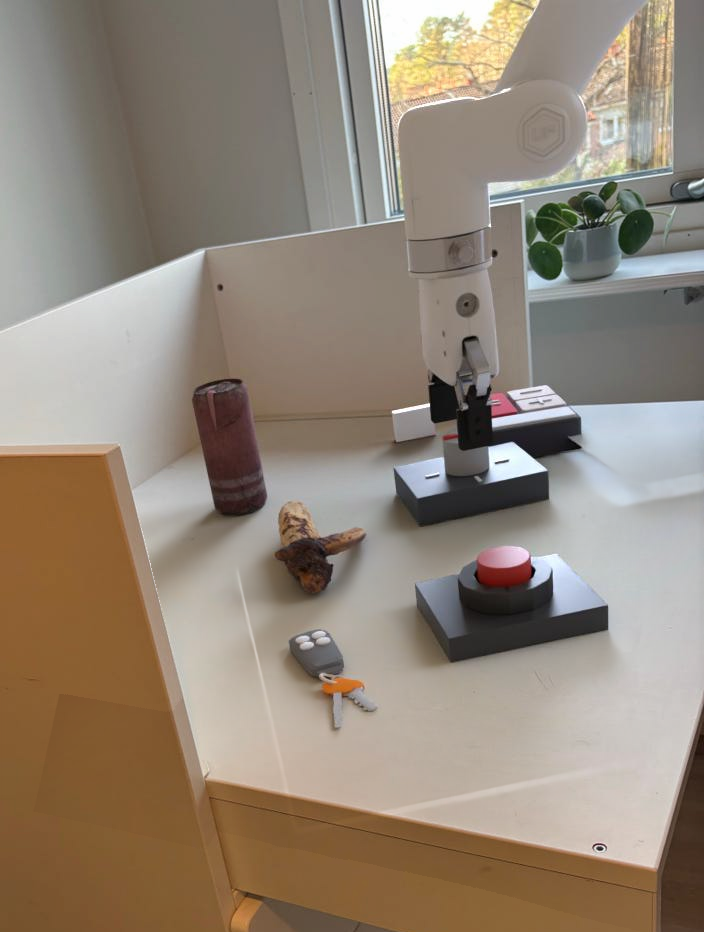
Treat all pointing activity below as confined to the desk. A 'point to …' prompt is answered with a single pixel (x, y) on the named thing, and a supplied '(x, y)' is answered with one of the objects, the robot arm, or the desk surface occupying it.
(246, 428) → the can
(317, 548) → the brown gnarled root
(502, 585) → the power button
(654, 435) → the desk surface
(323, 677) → the key chain
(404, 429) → the eraser
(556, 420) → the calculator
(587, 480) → the desk surface
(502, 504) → the dial panel
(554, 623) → the button base
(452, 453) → the knob
